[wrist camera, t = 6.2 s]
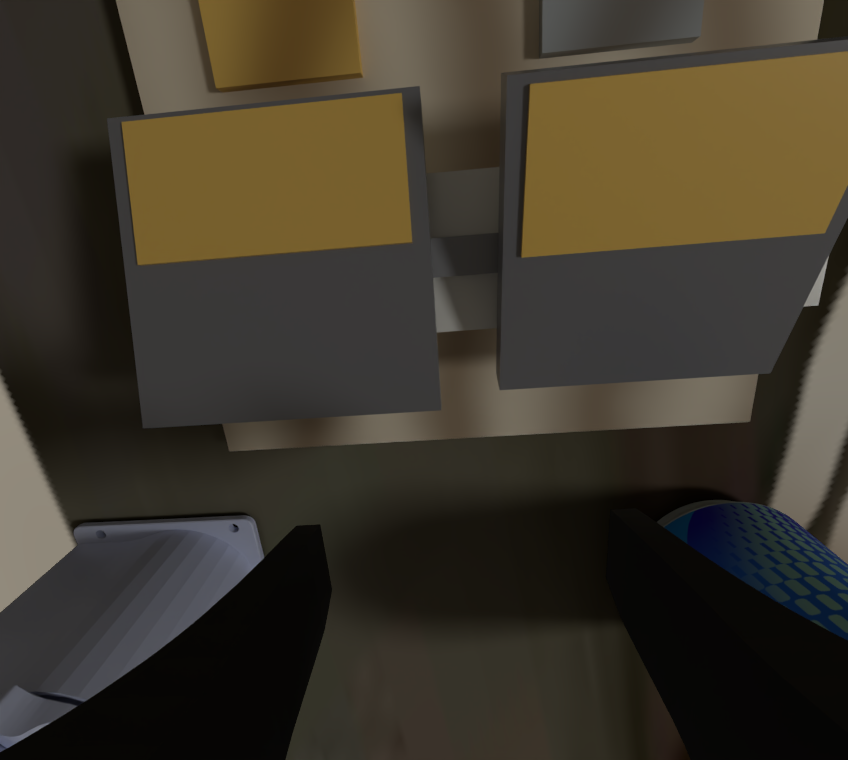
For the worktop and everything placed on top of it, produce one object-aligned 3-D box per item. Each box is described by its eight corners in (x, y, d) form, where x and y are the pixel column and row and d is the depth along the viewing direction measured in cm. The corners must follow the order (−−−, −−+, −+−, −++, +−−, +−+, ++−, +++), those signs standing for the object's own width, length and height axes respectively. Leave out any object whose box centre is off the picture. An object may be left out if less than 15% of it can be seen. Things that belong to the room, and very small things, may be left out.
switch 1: (164, 422, 14) (140, 429, 13) (132, 135, 14) (103, 116, 12) (441, 405, 14) (441, 411, 13) (421, 105, 13) (419, 83, 12)
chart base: (238, 441, 21) (224, 456, 20) (126, -23, 15) (94, -49, 14) (734, 412, 20) (757, 426, 18) (819, -109, 14) (862, -148, 12)
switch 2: (496, 372, 16) (500, 392, 15) (501, 72, 10) (508, 75, 10) (752, 356, 15) (772, 375, 15) (899, 31, 10) (945, 29, 9)
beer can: (821, 500, 21) (1798, 1197, 6) (749, 630, 24) (1292, 1334, 9) (650, 472, 21) (1210, 1117, 6) (598, 606, 24) (882, 1281, 8)
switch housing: (222, 328, 19) (164, 355, 15) (194, 206, 18) (120, 200, 14) (742, 290, 18) (830, 308, 14) (763, 154, 16) (870, 130, 12)
